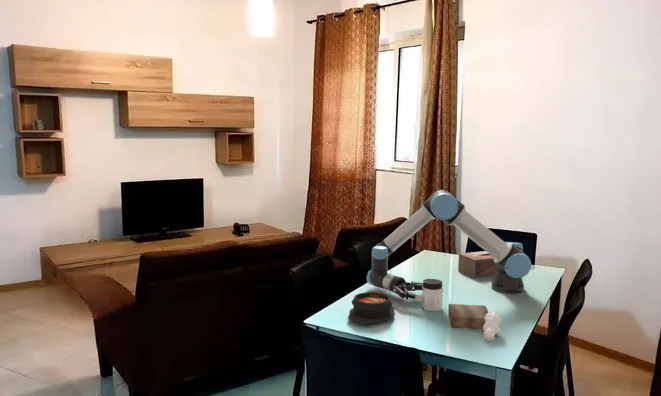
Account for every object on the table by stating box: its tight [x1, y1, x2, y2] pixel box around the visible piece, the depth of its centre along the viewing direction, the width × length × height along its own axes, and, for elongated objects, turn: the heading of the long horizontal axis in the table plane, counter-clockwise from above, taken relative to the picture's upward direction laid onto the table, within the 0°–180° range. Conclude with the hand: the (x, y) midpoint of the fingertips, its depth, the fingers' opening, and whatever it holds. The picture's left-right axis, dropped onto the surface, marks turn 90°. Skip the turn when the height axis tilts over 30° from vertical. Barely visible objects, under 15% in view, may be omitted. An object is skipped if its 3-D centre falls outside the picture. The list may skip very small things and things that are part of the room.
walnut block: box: [447, 303, 489, 331], centre depth 205 cm, size 15×15×5 cm
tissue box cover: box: [457, 250, 496, 279], centre depth 278 cm, size 26×14×10 cm, turn 111°
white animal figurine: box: [482, 311, 502, 342], centre depth 190 cm, size 6×8×12 cm
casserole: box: [347, 291, 396, 325], centre depth 210 cm, size 25×19×8 cm
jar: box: [421, 278, 444, 312], centre depth 221 cm, size 9×8×12 cm
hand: (431, 295), depth 220 cm, fingers open, 13 cm apart
